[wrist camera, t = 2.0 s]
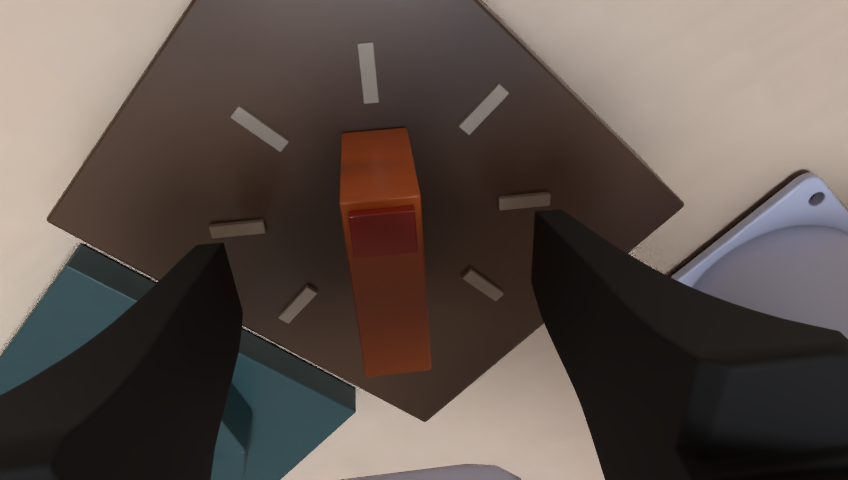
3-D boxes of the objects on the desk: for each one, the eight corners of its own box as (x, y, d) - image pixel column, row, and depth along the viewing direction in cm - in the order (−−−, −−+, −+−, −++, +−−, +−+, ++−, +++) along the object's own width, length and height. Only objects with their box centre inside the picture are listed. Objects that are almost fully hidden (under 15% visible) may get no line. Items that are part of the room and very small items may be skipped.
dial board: (643, 159, 19) (689, 208, 17) (417, 361, 23) (425, 427, 21) (313, -167, 14) (305, -171, 11) (87, 169, 18) (41, 225, 15)
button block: (356, 388, 24) (356, 452, 21) (228, 505, 27) (216, 572, 24) (80, 242, 19) (40, 302, 16) (-35, 405, 22) (-84, 476, 20)
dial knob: (418, 283, 17) (433, 378, 14) (362, 288, 17) (365, 385, 14) (406, 126, 15) (421, 201, 12) (341, 132, 15) (338, 209, 12)
